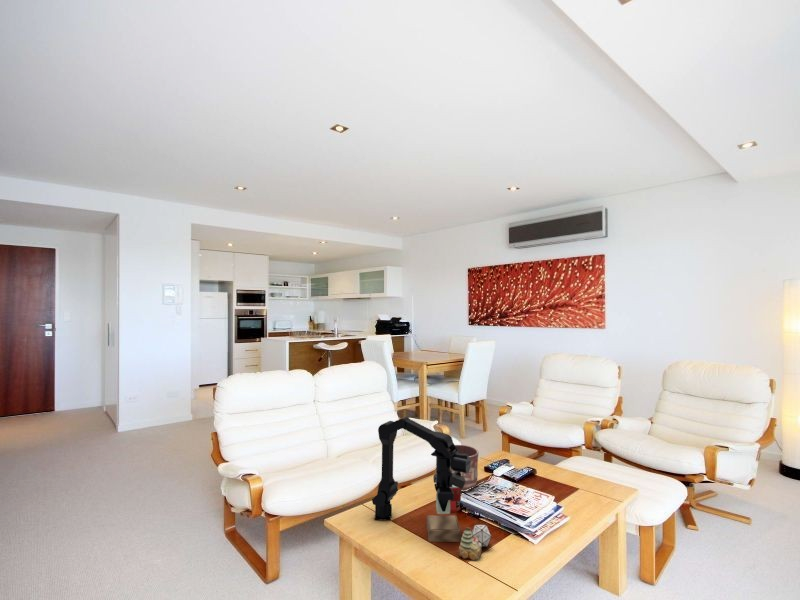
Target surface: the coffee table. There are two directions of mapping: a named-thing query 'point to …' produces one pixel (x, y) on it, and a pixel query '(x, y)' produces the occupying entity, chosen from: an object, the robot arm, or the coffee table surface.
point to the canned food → (455, 499)
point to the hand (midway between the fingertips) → (443, 508)
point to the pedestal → (443, 529)
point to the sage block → (439, 510)
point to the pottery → (473, 473)
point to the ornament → (469, 546)
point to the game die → (481, 534)
